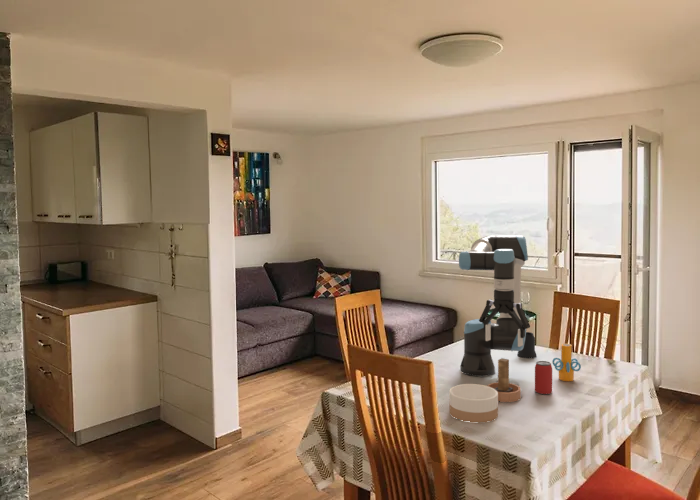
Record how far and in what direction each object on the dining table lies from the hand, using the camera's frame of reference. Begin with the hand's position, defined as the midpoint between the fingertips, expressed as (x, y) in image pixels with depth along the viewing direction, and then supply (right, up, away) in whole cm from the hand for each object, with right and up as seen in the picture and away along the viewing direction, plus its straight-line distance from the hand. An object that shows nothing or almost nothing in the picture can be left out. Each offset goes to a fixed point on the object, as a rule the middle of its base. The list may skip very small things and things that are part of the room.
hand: (503, 343), depth 216 cm
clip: (0, -21, +2) cm, 21 cm away
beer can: (+17, -21, +5) cm, 27 cm away
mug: (+28, -16, +58) cm, 66 cm away
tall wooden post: (0, -21, +2) cm, 21 cm away
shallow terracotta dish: (0, -21, +2) cm, 21 cm away
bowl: (-15, -23, -15) cm, 32 cm away
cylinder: (+32, -19, +20) cm, 42 cm away
